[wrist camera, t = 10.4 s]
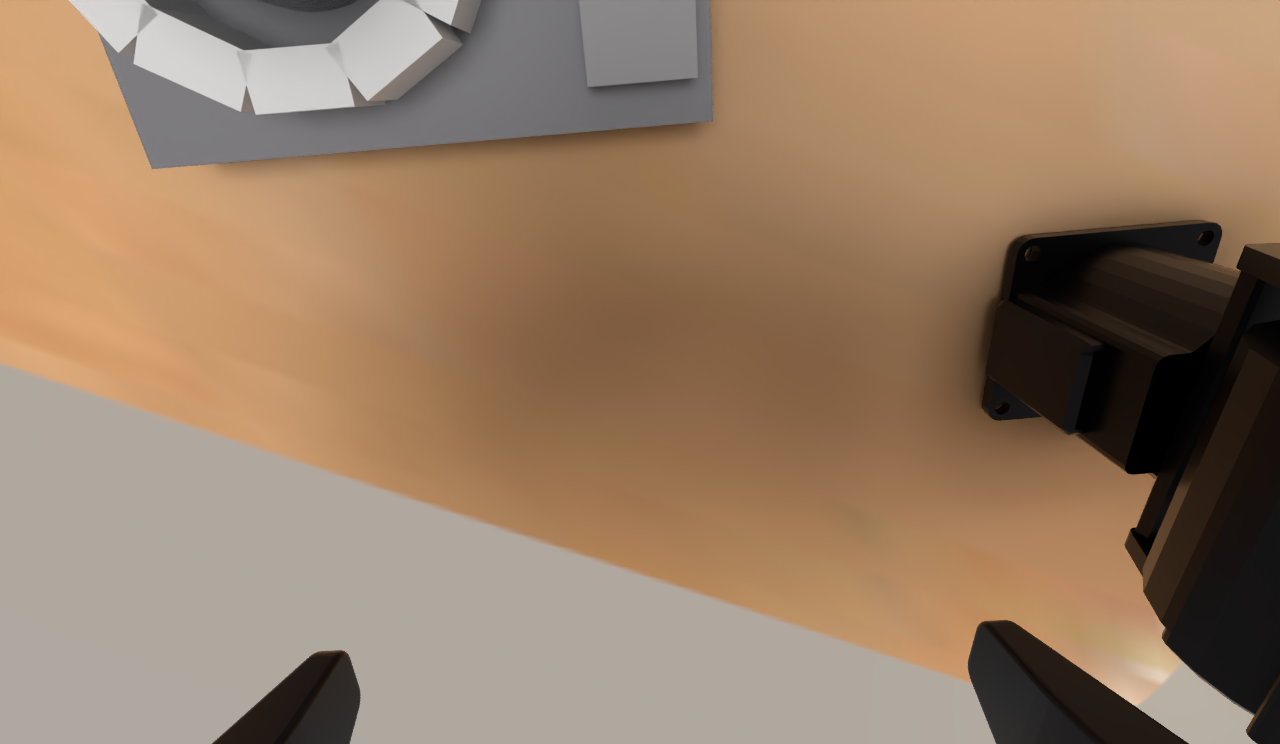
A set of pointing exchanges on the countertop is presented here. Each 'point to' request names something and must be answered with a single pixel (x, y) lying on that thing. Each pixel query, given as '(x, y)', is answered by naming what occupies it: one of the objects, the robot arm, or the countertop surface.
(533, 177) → the countertop surface
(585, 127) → the camera body
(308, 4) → the lens
